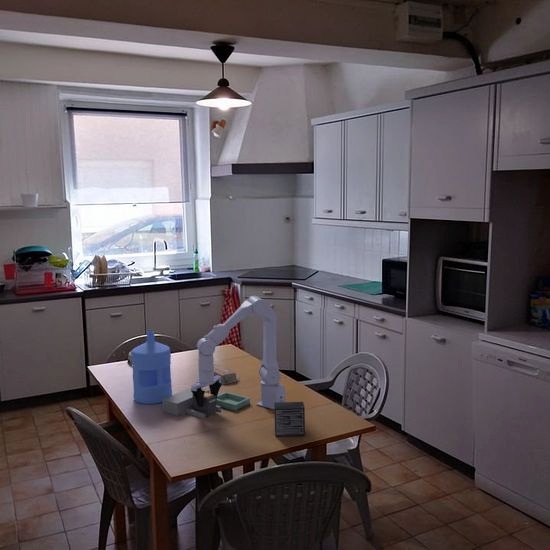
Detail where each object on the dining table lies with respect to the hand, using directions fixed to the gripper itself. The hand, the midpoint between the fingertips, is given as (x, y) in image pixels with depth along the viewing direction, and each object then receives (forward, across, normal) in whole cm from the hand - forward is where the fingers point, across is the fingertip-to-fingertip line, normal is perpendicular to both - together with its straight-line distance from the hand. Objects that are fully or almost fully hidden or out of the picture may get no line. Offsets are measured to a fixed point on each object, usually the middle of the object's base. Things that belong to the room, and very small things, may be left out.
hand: (207, 403), depth 222 cm
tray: (+4, -12, +2) cm, 13 cm away
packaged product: (+4, -35, -24) cm, 42 cm away
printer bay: (+4, 0, -6) cm, 7 cm away
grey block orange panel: (+4, 0, -2) cm, 4 cm away
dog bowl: (+4, -32, -72) cm, 79 cm away
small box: (+4, -3, +36) cm, 37 cm away
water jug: (+4, +1, -30) cm, 30 cm away
